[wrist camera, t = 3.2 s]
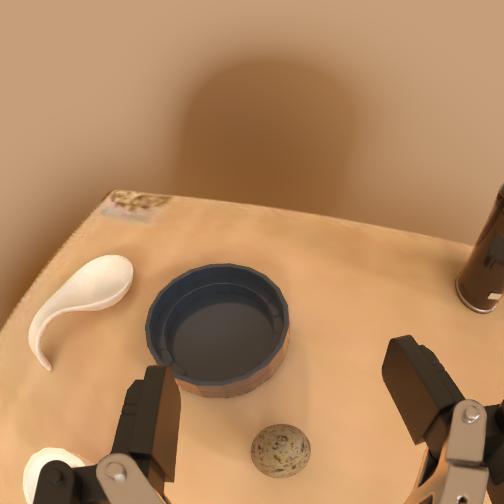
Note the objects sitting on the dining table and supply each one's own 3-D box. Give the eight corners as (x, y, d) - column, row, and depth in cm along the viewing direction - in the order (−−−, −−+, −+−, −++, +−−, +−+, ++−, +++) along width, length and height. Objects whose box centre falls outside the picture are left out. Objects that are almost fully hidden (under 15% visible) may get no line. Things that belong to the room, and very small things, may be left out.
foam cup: (167, 484, 25) (114, 476, 16) (151, 544, 19) (92, 559, 10) (101, 456, 27) (36, 431, 18) (85, 512, 20) (15, 504, 11)
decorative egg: (242, 453, 28) (230, 442, 21) (281, 422, 31) (283, 399, 24) (278, 488, 25) (279, 489, 18) (317, 454, 27) (332, 442, 20)
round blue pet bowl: (262, 272, 48) (260, 249, 44) (309, 372, 35) (313, 355, 31) (151, 303, 44) (140, 283, 41) (170, 413, 32) (156, 402, 28)
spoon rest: (111, 259, 52) (96, 231, 47) (153, 280, 48) (139, 250, 43) (30, 348, 38) (6, 325, 33) (63, 387, 34) (35, 366, 29)
